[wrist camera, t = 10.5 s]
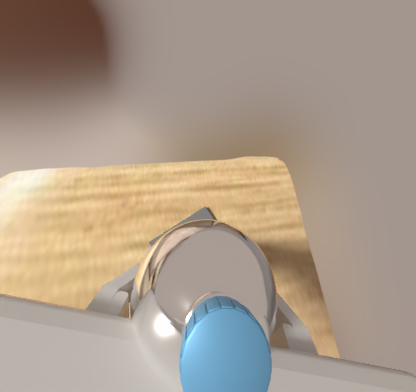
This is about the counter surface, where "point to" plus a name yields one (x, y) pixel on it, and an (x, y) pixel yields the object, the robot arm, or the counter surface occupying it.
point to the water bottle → (207, 308)
